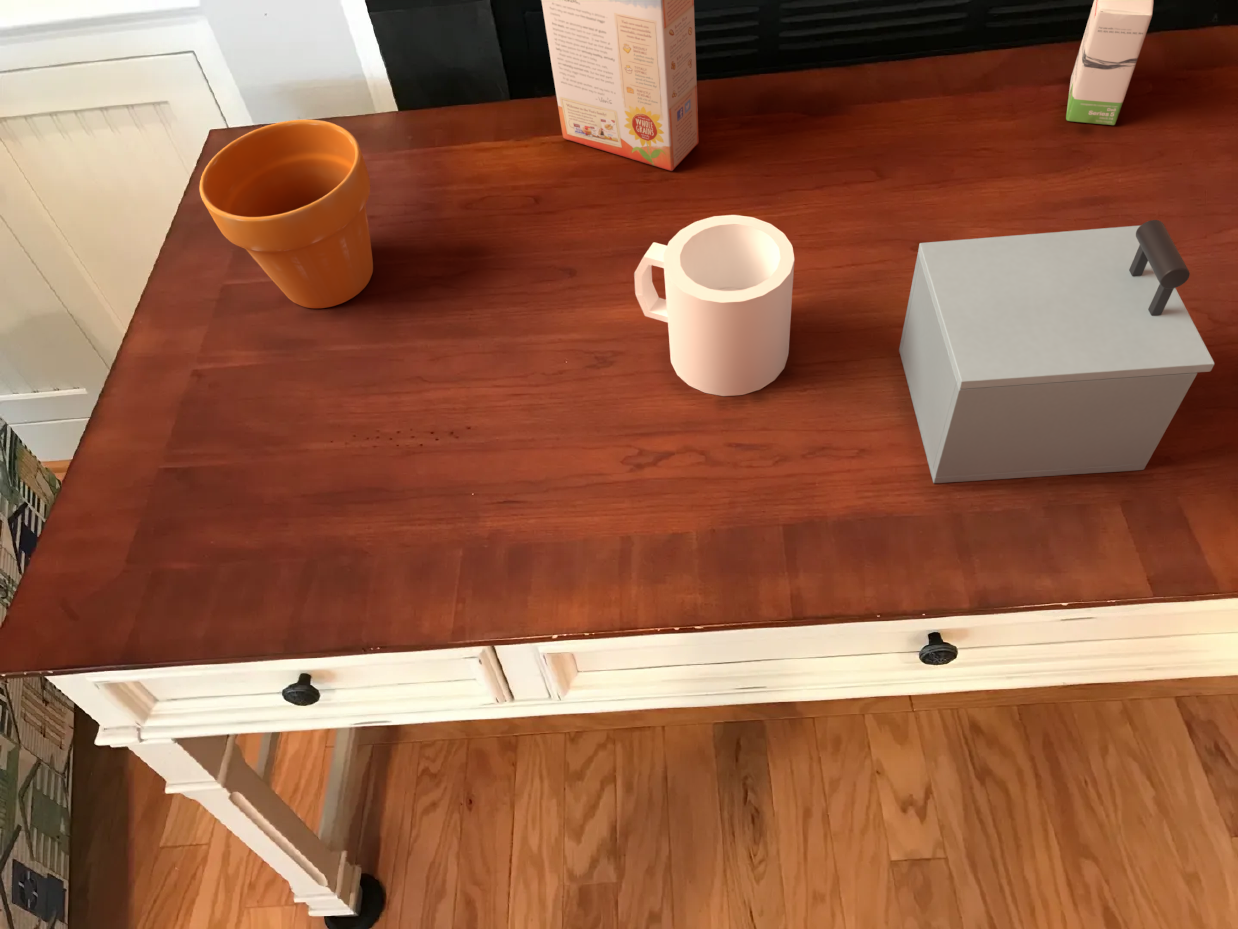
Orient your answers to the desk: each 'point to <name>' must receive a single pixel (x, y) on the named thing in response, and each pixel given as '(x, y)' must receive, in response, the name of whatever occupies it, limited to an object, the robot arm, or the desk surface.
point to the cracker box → (626, 76)
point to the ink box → (1107, 59)
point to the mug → (723, 302)
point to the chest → (1027, 413)
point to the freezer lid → (1063, 306)
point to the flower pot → (296, 207)
